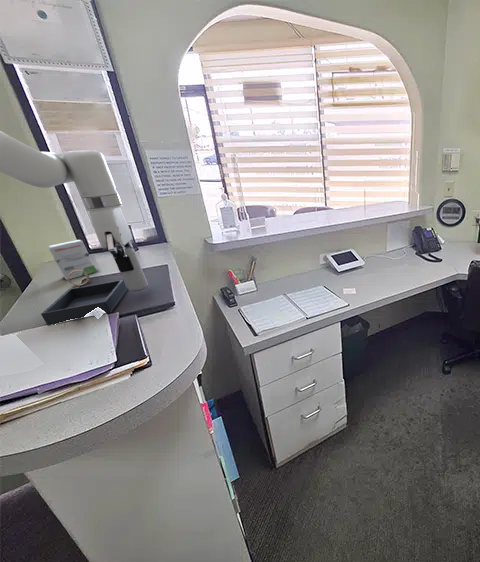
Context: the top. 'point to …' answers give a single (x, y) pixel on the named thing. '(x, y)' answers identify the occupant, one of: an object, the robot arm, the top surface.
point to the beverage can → (134, 273)
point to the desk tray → (85, 301)
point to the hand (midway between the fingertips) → (129, 267)
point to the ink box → (72, 258)
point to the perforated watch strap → (78, 284)
